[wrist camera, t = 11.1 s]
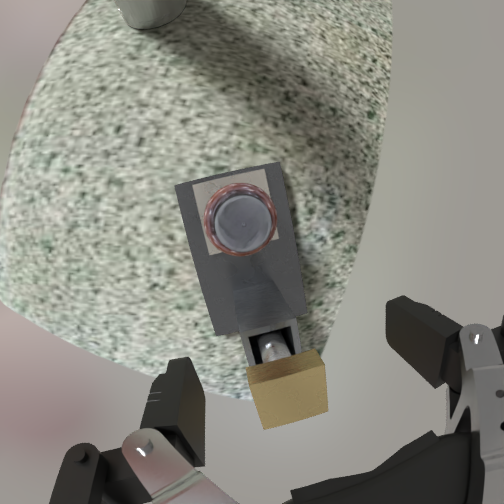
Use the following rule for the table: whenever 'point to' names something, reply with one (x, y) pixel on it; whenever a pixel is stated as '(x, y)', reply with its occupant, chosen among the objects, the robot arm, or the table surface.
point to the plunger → (286, 382)
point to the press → (247, 265)
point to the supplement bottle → (240, 219)
